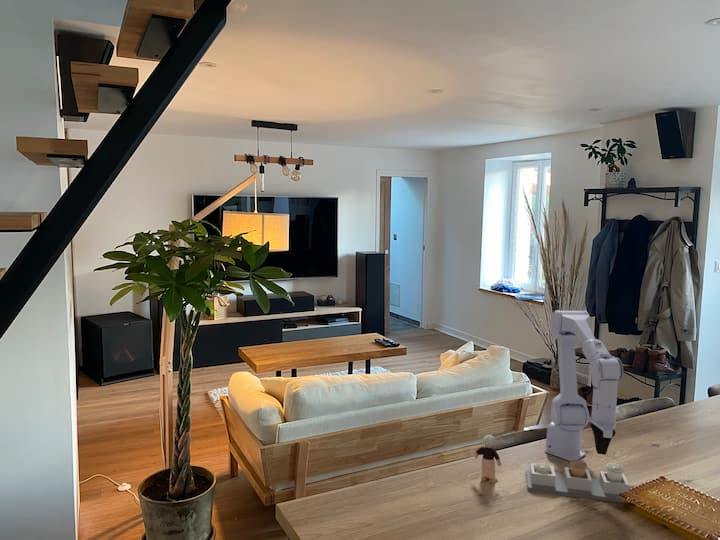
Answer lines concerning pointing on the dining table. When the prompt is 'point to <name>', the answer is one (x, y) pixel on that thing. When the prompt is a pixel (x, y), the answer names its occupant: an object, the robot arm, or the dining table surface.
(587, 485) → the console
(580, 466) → the middle knob
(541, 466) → the knob
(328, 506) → the dining table surface
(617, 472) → the knob
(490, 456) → the grandmother figurine
